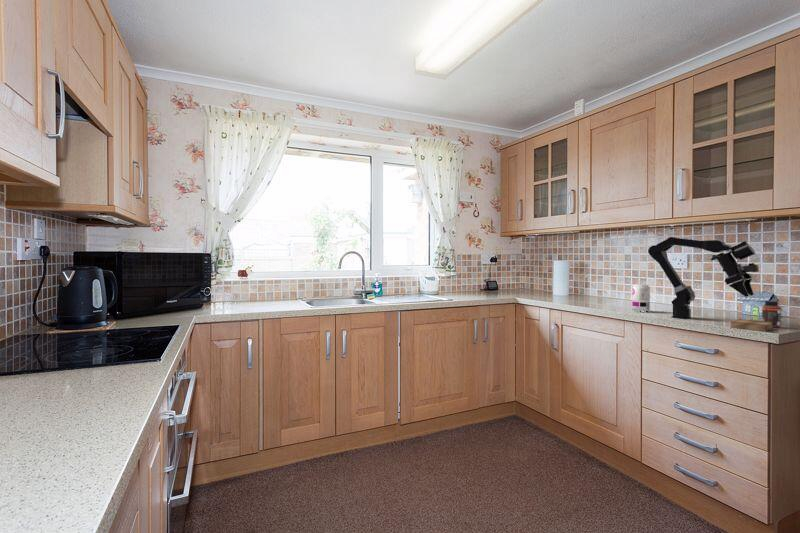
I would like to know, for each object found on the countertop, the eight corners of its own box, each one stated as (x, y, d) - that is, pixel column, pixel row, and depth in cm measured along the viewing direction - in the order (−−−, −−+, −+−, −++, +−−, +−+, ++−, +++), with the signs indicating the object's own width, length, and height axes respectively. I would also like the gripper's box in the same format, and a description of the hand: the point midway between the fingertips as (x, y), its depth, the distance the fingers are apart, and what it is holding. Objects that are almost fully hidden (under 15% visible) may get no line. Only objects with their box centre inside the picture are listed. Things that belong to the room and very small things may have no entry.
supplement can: (630, 311, 220) (631, 284, 219) (634, 310, 226) (634, 283, 226) (647, 312, 214) (648, 285, 214) (650, 311, 221) (651, 284, 220)
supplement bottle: (784, 328, 169) (784, 301, 168) (767, 327, 170) (768, 301, 170) (774, 326, 174) (774, 300, 174) (758, 325, 176) (758, 300, 175)
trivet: (730, 327, 170) (731, 321, 170) (739, 325, 177) (739, 319, 177) (765, 331, 161) (765, 324, 161) (772, 328, 168) (772, 322, 168)
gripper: (744, 256, 171) (766, 289, 166) (754, 256, 183) (776, 287, 177) (715, 268, 179) (736, 300, 173) (727, 267, 190) (747, 297, 185)
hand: (749, 295), depth 177 cm, fingers open, 9 cm apart
